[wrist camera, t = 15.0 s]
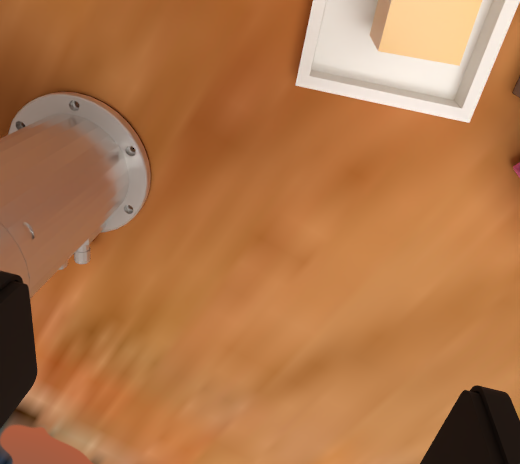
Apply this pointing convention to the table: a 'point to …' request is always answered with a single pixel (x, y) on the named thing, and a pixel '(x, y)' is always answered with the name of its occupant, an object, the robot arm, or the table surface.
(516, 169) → the gum box
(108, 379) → the table surface
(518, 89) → the gray square socket plate
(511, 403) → the robot arm
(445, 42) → the block
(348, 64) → the parts tray
